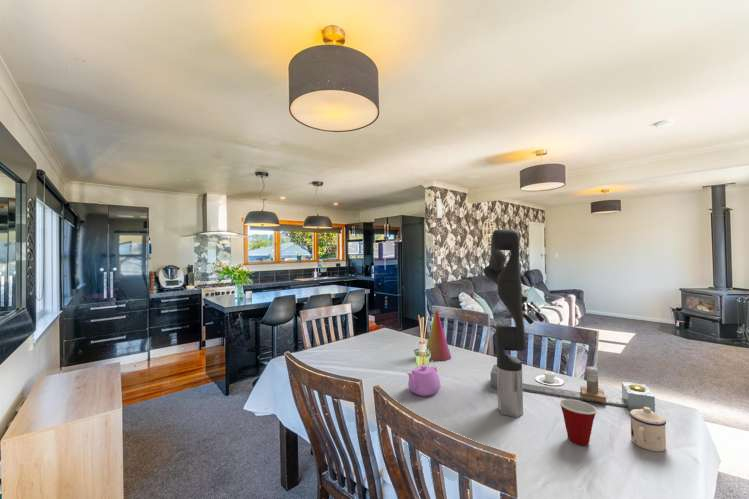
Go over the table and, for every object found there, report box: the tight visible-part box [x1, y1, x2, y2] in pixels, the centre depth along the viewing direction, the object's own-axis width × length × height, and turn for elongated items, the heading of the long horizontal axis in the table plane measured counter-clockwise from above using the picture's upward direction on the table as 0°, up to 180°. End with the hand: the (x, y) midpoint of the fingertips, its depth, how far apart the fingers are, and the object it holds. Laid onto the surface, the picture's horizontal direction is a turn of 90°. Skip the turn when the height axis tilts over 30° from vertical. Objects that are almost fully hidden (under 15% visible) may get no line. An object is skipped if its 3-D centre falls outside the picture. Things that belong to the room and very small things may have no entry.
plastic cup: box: [558, 398, 598, 447], centre depth 108 cm, size 11×11×12 cm
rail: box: [490, 364, 656, 413], centre depth 142 cm, size 12×59×8 cm, turn 62°
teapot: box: [406, 364, 441, 397], centre depth 148 cm, size 20×13×12 cm, turn 131°
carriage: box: [580, 366, 607, 402], centre depth 137 cm, size 9×8×12 cm
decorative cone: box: [426, 306, 452, 362], centre depth 196 cm, size 16×16×30 cm
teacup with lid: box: [629, 407, 667, 452], centre depth 105 cm, size 12×9×12 cm
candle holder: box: [534, 370, 564, 386], centre depth 157 cm, size 12×12×4 cm
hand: (537, 322), depth 151 cm, fingers open, 8 cm apart
